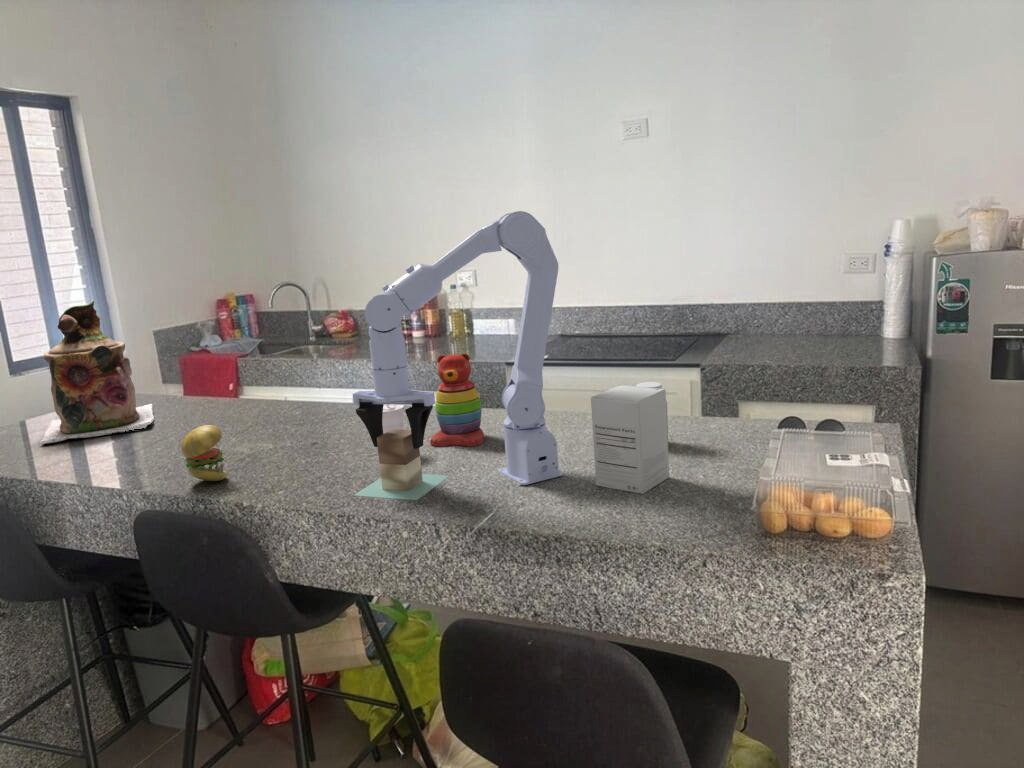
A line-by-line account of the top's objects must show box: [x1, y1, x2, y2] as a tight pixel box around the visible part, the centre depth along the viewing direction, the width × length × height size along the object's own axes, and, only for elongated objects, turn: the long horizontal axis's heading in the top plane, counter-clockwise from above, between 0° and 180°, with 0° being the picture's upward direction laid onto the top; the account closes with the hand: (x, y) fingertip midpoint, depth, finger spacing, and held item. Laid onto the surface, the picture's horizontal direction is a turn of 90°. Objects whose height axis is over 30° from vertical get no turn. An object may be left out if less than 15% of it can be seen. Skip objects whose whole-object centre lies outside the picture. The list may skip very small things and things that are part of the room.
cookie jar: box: [39, 299, 155, 446], centre depth 187 cm, size 25×25×32 cm
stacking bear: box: [429, 353, 485, 447], centre depth 152 cm, size 11×10×18 cm
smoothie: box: [382, 404, 406, 434], centre depth 145 cm, size 6×6×14 cm
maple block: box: [379, 455, 423, 491], centre depth 127 cm, size 5×5×4 cm
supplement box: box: [590, 385, 670, 495], centre depth 120 cm, size 9×9×15 cm
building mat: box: [352, 473, 450, 501], centre depth 128 cm, size 12×12×1 cm
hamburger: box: [180, 421, 228, 482], centre depth 137 cm, size 8×7×12 cm
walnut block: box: [377, 429, 421, 465], centre depth 127 cm, size 5×5×4 cm
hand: (398, 446), depth 126 cm, fingers open, 7 cm apart
